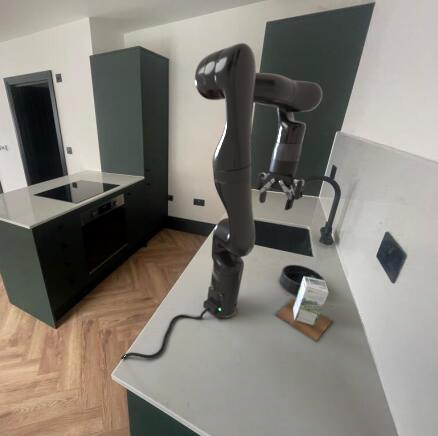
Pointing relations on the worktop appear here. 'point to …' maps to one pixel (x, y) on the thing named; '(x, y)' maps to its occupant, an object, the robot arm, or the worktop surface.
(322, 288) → the syrup box
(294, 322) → the coaster
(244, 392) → the worktop surface
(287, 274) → the bowl
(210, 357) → the worktop surface
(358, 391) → the worktop surface
